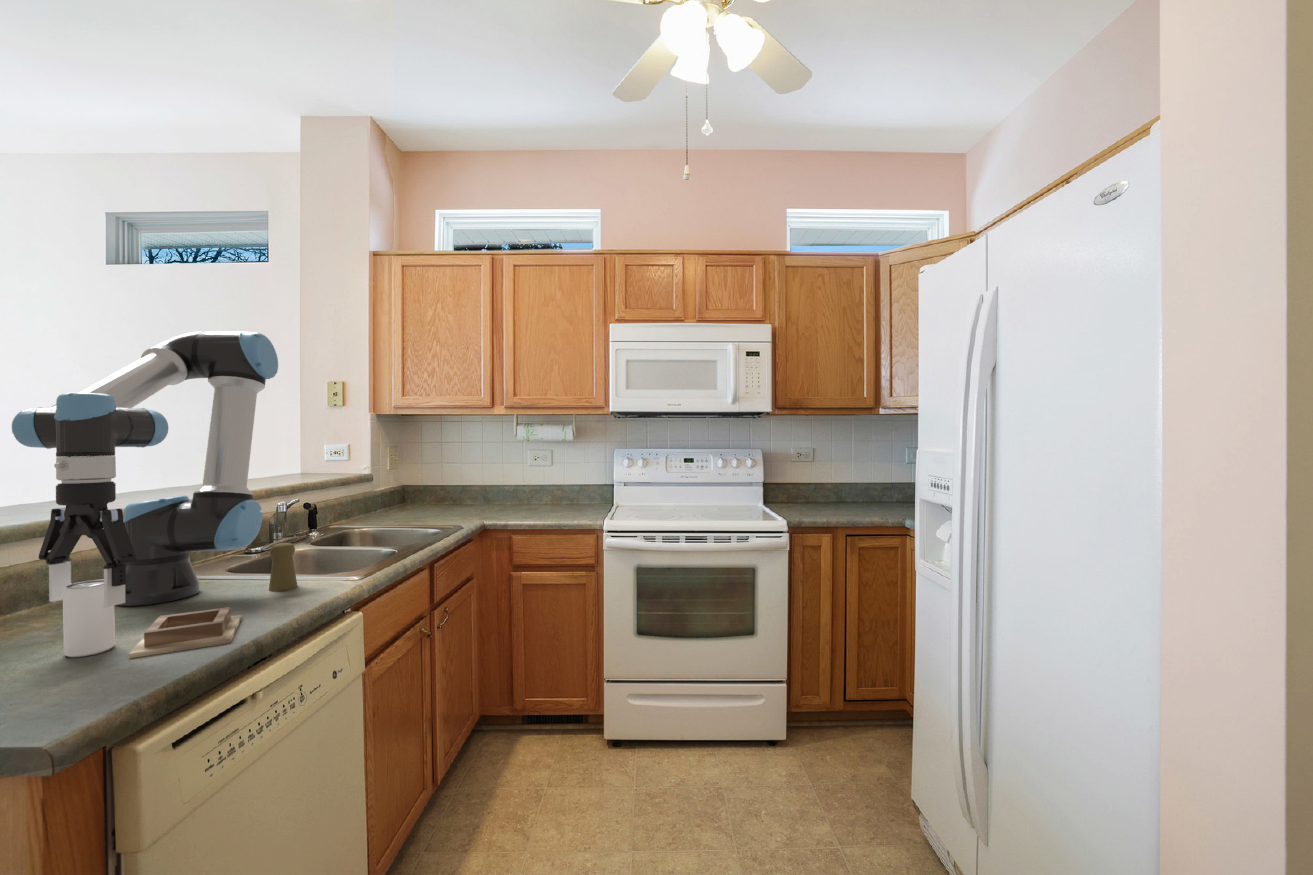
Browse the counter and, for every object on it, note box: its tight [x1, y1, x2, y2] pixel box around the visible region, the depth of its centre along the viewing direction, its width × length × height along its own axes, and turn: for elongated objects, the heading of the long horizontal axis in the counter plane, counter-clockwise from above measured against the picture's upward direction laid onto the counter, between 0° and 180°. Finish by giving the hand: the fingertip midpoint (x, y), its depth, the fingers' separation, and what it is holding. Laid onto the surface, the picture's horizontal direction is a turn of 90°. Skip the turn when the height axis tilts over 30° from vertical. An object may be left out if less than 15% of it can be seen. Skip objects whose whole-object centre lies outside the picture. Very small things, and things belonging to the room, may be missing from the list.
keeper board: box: [128, 606, 242, 659], centre depth 110 cm, size 16×14×3 cm
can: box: [62, 579, 116, 659], centre depth 103 cm, size 6×6×12 cm
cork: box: [268, 542, 298, 592], centre depth 144 cm, size 6×6×11 cm
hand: (87, 602), depth 102 cm, fingers open, 13 cm apart
